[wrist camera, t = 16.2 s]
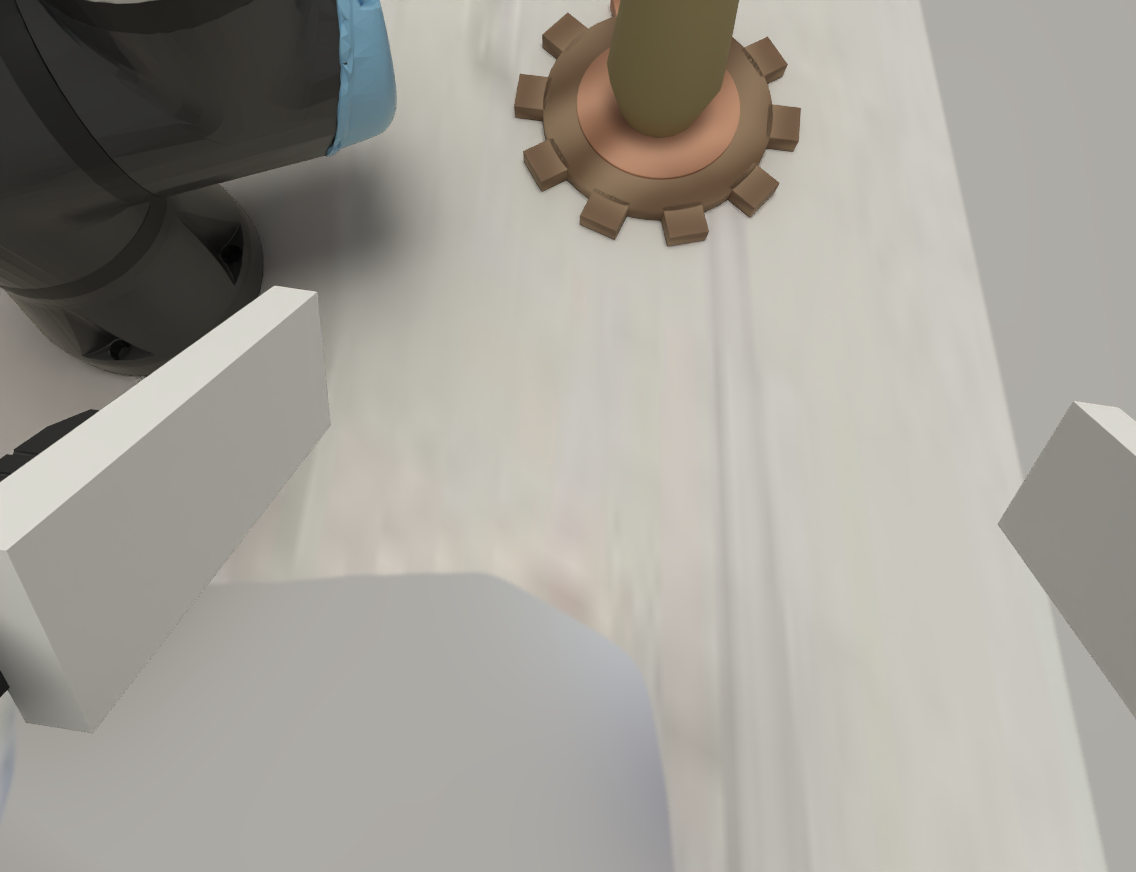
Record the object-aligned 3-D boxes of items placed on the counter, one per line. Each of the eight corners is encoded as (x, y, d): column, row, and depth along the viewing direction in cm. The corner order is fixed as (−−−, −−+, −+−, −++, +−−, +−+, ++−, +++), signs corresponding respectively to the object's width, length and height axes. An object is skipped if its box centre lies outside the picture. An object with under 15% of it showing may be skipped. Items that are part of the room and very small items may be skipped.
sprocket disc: (459, 120, 49) (456, 106, 48) (644, -43, 53) (647, -61, 51) (668, 300, 46) (671, 291, 45) (849, 116, 50) (858, 102, 48)
